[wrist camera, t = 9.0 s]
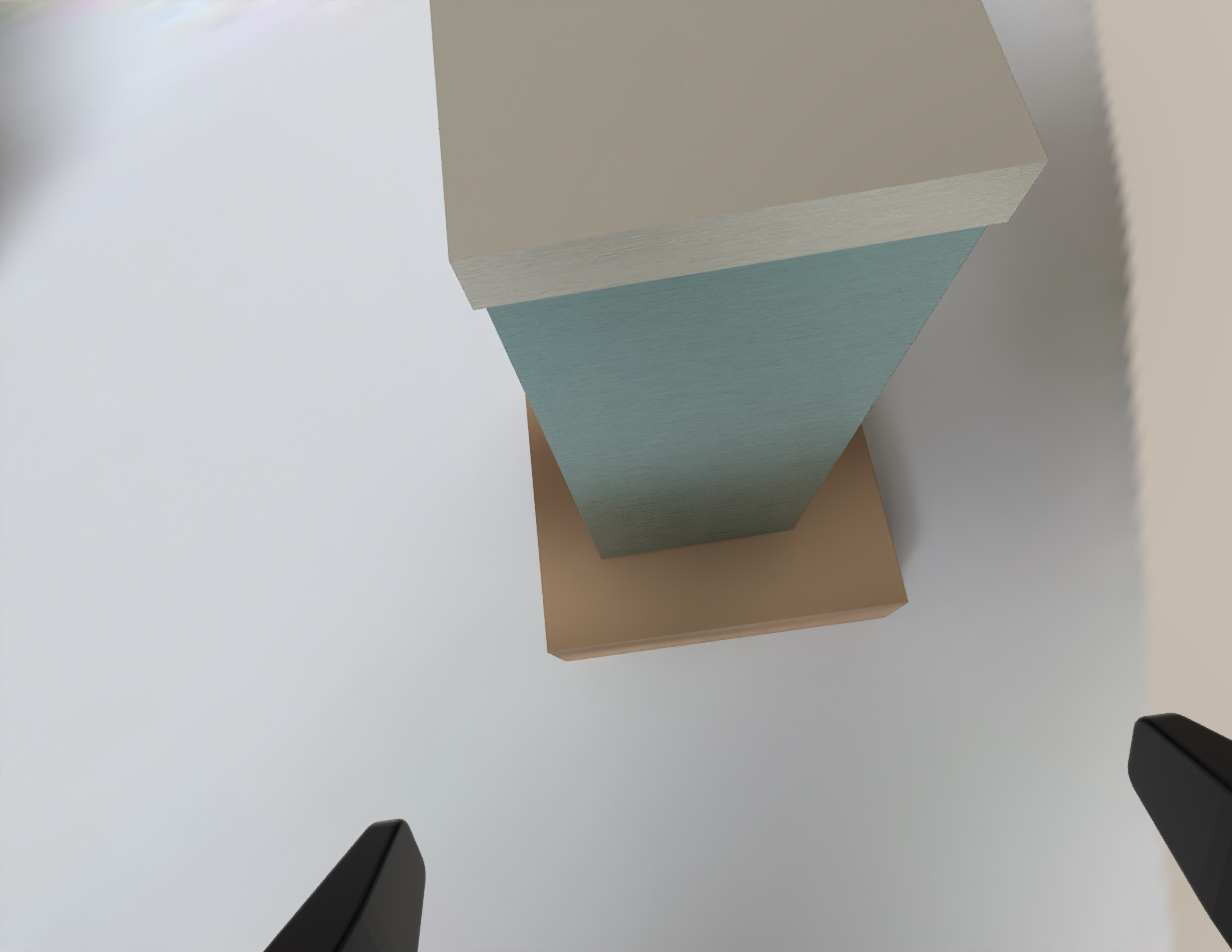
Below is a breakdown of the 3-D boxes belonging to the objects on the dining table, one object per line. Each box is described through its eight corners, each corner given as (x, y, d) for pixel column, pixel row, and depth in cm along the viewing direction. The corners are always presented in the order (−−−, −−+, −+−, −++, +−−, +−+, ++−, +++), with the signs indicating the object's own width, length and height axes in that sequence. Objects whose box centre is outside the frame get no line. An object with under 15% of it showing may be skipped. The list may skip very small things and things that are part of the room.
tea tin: (797, 532, 18) (1048, 160, 6) (597, 563, 18) (448, 261, 6) (756, 354, 20) (888, -218, 8) (574, 384, 20) (420, -133, 8)
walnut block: (880, 619, 20) (908, 601, 17) (569, 662, 21) (547, 652, 18) (812, 344, 23) (825, 291, 21) (543, 389, 24) (521, 344, 21)
